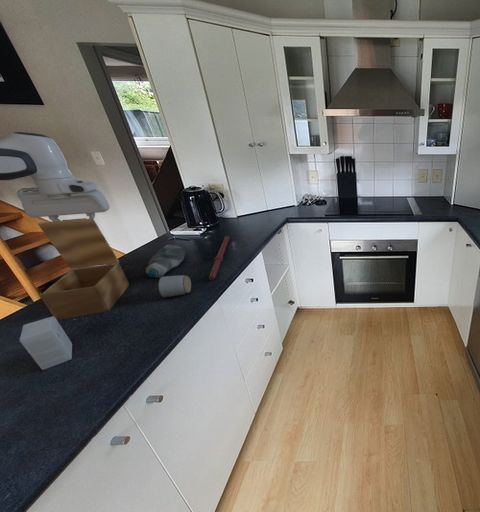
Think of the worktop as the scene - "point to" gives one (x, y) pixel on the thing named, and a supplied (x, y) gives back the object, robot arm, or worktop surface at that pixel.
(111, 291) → the chest
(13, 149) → the robot arm
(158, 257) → the detergent
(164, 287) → the grey cylinder
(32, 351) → the small box
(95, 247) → the lid
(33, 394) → the worktop surface
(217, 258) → the rolling pin
